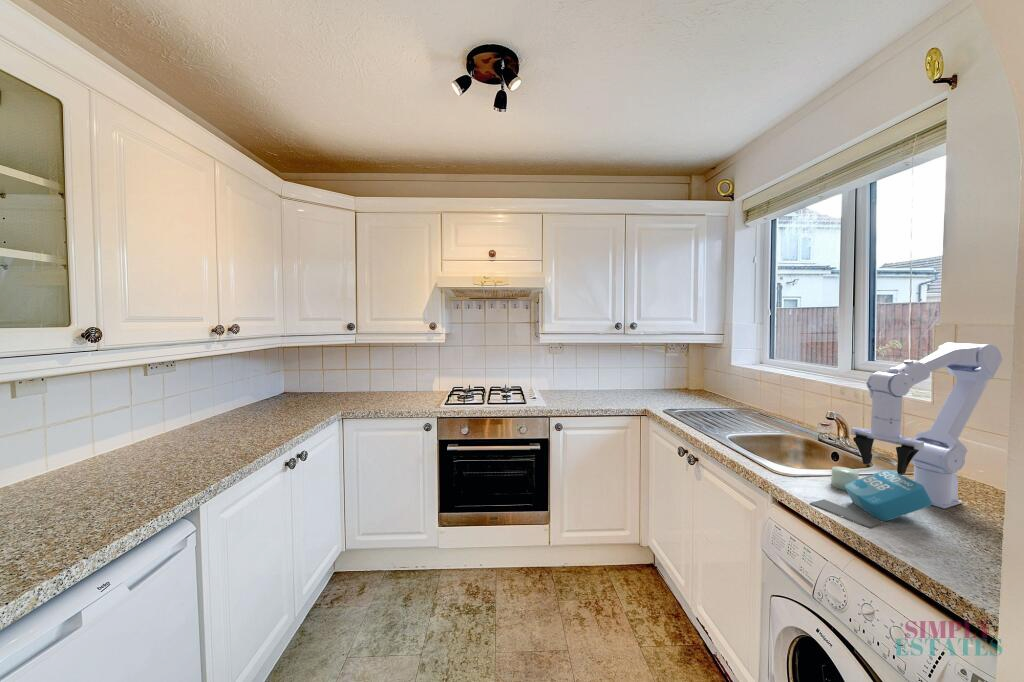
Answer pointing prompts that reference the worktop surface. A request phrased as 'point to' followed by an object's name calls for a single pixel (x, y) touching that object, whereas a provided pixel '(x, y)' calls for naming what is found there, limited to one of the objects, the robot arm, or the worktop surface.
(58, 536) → the worktop surface
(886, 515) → the data package
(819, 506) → the rubber mat
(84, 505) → the worktop surface
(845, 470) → the mint green soap bar
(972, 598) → the worktop surface
